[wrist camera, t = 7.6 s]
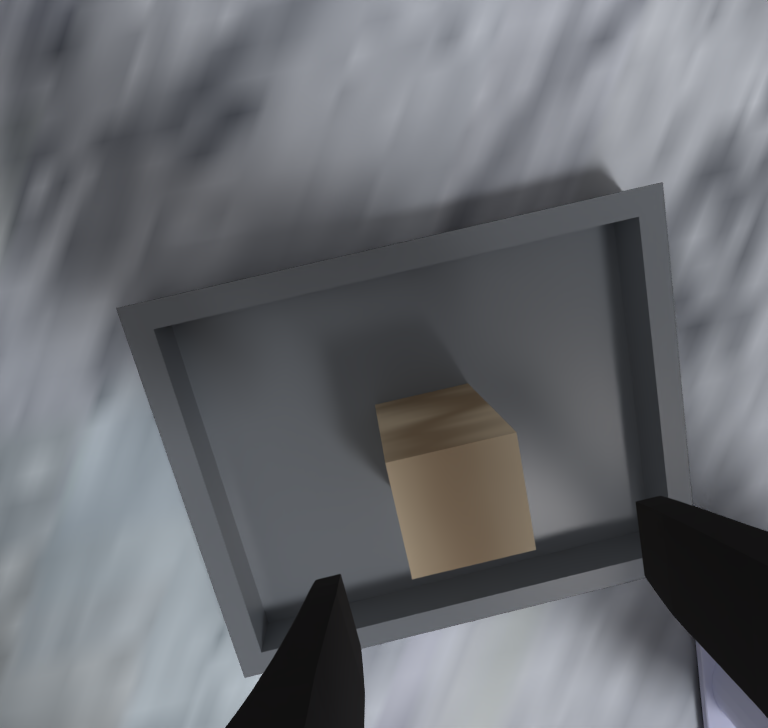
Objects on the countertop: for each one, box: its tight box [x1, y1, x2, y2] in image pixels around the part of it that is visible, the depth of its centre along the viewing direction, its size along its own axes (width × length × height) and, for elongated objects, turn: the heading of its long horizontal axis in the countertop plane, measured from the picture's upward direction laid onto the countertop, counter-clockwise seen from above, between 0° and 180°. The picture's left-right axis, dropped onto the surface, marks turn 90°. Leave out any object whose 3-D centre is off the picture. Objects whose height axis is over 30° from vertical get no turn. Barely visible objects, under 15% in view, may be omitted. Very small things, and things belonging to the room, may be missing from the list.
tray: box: [116, 182, 693, 678], centre depth 20 cm, size 20×16×2 cm
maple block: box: [375, 383, 536, 579], centre depth 18 cm, size 4×4×6 cm
